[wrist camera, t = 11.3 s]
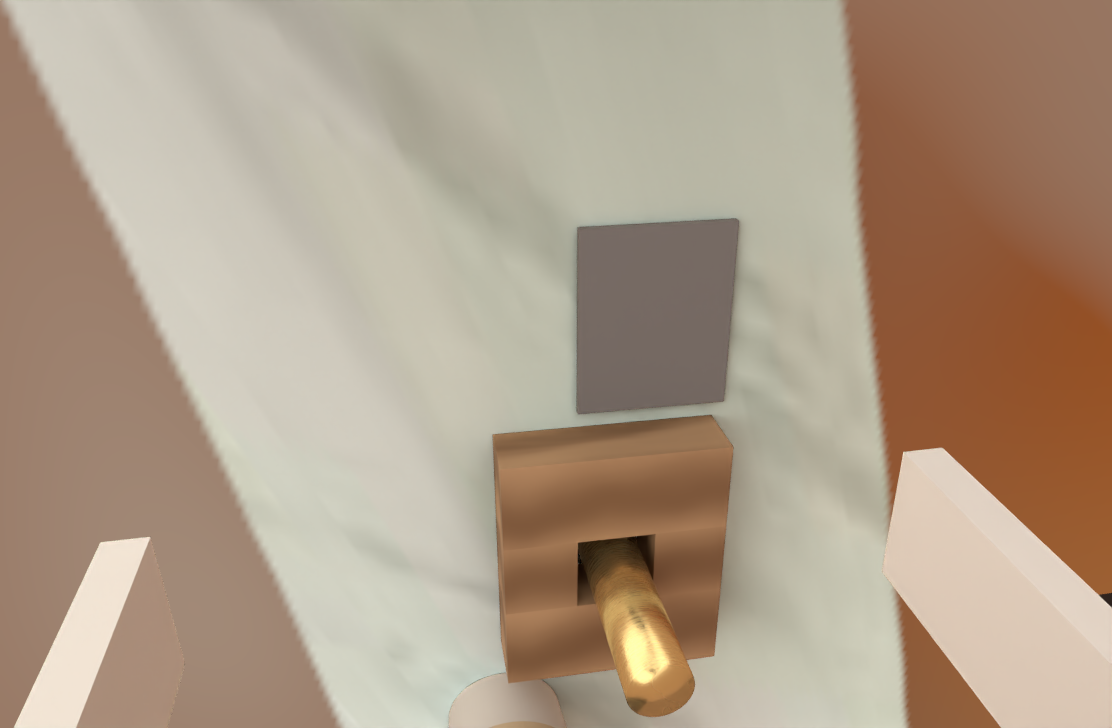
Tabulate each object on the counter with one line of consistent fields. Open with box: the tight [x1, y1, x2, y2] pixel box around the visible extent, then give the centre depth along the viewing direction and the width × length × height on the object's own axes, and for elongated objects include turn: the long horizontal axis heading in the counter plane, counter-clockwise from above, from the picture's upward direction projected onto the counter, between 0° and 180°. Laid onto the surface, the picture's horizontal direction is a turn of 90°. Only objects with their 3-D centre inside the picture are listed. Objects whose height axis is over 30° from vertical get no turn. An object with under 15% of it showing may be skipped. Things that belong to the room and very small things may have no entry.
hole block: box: [493, 415, 733, 684], centre depth 49 cm, size 14×12×4 cm
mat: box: [577, 219, 739, 414], centre depth 45 cm, size 10×8×1 cm
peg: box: [578, 536, 695, 717], centre depth 45 cm, size 3×3×12 cm
